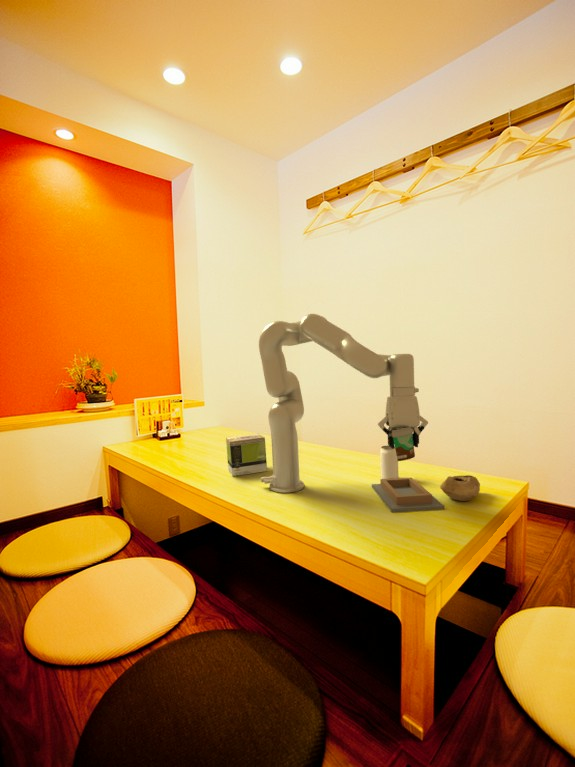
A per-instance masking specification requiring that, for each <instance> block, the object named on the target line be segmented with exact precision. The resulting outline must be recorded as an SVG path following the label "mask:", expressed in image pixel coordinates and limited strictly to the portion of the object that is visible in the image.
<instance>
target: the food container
mask: <svg viewBox="0 0 575 767" xmlns="http://www.w3.org/2000/svg"><path fill="white" fill-rule="evenodd" d="M413 432H414V429H413V427H407V428H396V429H395V430H392V436H393V440H394V446H395V450H396V455H397V460H398V462H402V461H407V460H411V459H415V457H416V453H415V452H416V451H415V446H414V443H413V435H412V434H413Z"/></svg>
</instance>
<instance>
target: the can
mask: <svg viewBox="0 0 575 767" xmlns="http://www.w3.org/2000/svg"><path fill="white" fill-rule="evenodd" d="M379 461H380V462H379V464H380V467H379V468H380V478H381V479H394V478H399V461H398V460H397V455H396V450H395V445H394V449H392V448H391V447H389V445H382V446H380V451H379Z"/></svg>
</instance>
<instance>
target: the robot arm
mask: <svg viewBox="0 0 575 767" xmlns="http://www.w3.org/2000/svg"><path fill="white" fill-rule="evenodd" d="M310 342H314V343H316V344H317V345H318V346H320V347H322V348H323V349H325V350H327V351H328V352H329V353H332V354H333V355H334V356H335V357H337V358H338V359H339V360H342V361H343V362H344V363H346V364H347V365H348V366H350V367H352V368H353V369H355V370H356V371H358V372H360V373H361V374H363V375H364V376H366V377H368V378H370V379H380V378H381V377H385V376H389V396H387V398H386V405H385V415H384V416H385V417H383V418H382V419H381V420H380V421H379V422H377V425H378V426H377V427H379V429H380V430H381V431H383V432H384V433H385V434H386V435H387V446H389V447H391V448H392V449H394V446H395V445H394V440H393V436H392V430H395V429H396V428H407V427H413V429H414V432H413V433H412V435H413V443H414V448H419V444H420V435H421V433H422V432H423V430H425V428H426V427H427V425H428V424H429V421H428V420H427V419H425V418H424V417H422V415H420V406H419V402H418V401H419V400H418V397H417V396H416V393H419V388H417V387H415V368H414V367H415V365H414V364H415V363H414V362H415V359H414V356H413V354H411V353H396V354H394V353H393V354H392V355H391V354H390V355H389V354H378V353H376V352H375V351H373V350H372V349H370V348H368V347H366V346H364V345H363V344H361V343H360V342H358V341H357V340H356V339H354V337H353V336H352V335H351V334H350V333H349V332H347V331H346V330H344V329H342V328H341V327H339V326H337V325H335V324H334V323H332V322H330V321H329V320H327V318H326V317H324V316H321V315H320V314H316V313H308V314H307V315H305V316H304V317H303V318H302V319H301V320H298V321H295V322H288V321H283V320H277V321H274V322H270V323H269V324H268V325H266V326H265V327H264V328H263V330H262V332H261V333H260V335H259V339H258V348H259V349H258V350H259V356H260V359H261V365H262V371H263V377H264V382H265V387H266V388H265V389H266V391H267V393H268V395H269V396H270V397H273V398H275V399H276V398H277V399H278V402H275V403H274V404H273V405H272V406H271V407H270V408H269V411H268V425H269V429H270V435H271V436H270V438H271V451H272V452H271V454H272V457H271V458H272V472H273V473H272V475H269V476H261V477H260V480H261V481H260V482H261V483H263V484H269V489H270V490H271V491H273V492H275V493H279V494H281V493H283V494H285V493H286V494H287V493H289V494H290V493H295V492H299V491H301V490H303V488H304V486H305V482H304V481H303V480H301V479H300V459H299V456H300V455H299V441H298V439H299V438H298V430H297V426H296V424H297V423H298V422H299V421H301V419H302V418H303V417H304V412H305V408H304V407H305V406H304V401H303V396H302V391H301V390H302V389H301V385H300V381H299V379H298V377H297V375H296V374H295V373H294V372H292V371H290V370H288V367H287V364H286V358H285V354H284V351H283V349H282V348H283V346H284V347H286V346H287V347H291V346H298V345H301V344H306V343H310ZM385 425H386V426H388V428H386V426H385Z"/></svg>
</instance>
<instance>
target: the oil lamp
mask: <svg viewBox="0 0 575 767" xmlns="http://www.w3.org/2000/svg"><path fill="white" fill-rule="evenodd" d="M439 487H440V488H439V489H441V491H442V492H443V493H444V494H445V495H446V496H448V497H449V498H450V499H451V500H454V501H460V502H461V501H462V502H465V501H466V502H467V501H470V500H471V499H472V498H474V497H475V496H477V495H479V493H480V489H481V488H480V487H481V483H480V481H479V480H478V478H477V476H474V475H470V474H467V475H462V474H461V475H454V476H450V475H449V476H447V478H446V479H445V480H444V481H443V482H442V483H441V484H440V486H439Z"/></svg>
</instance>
